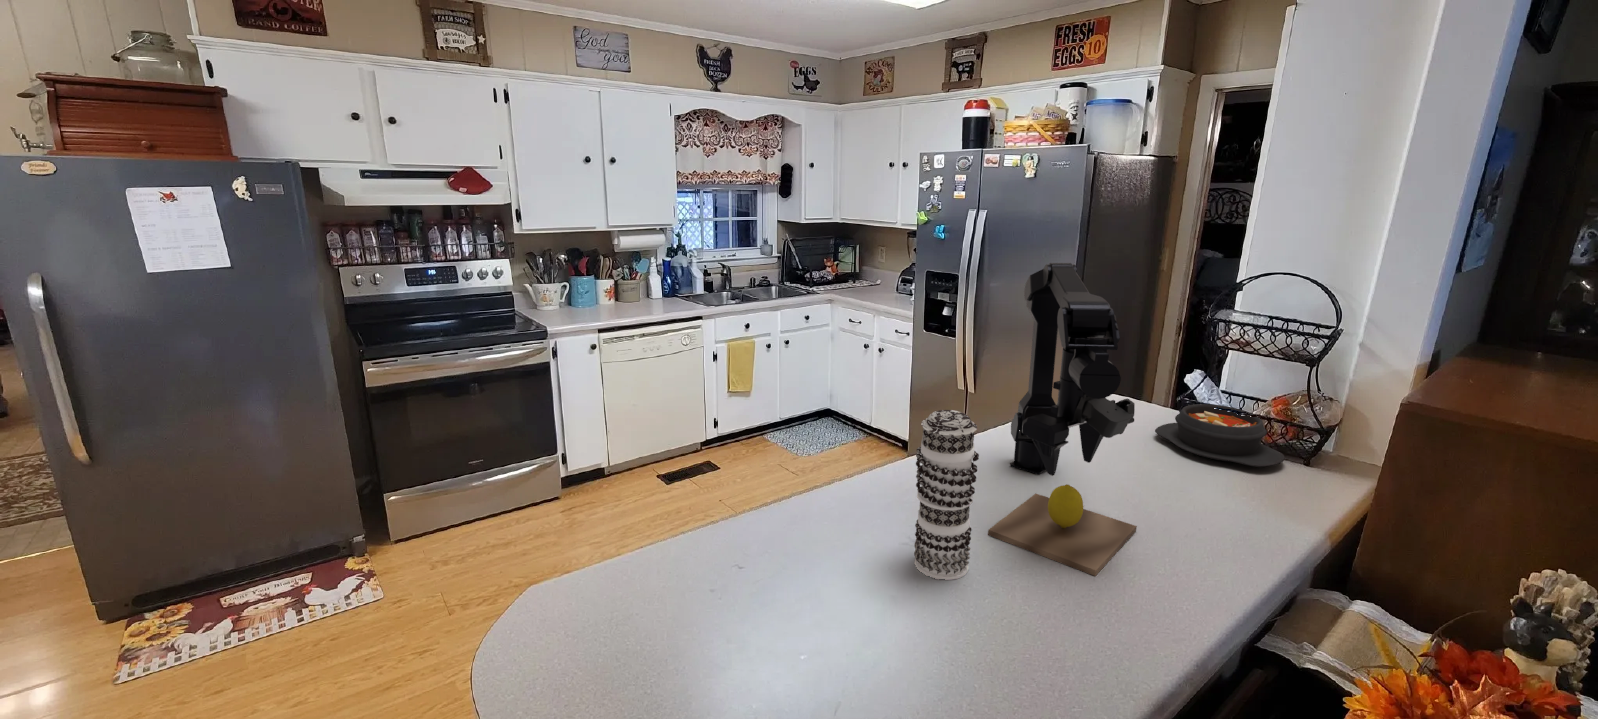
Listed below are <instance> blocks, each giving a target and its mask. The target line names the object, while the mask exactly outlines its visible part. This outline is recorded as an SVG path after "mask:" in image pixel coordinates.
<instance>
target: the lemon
mask: <svg viewBox="0 0 1598 719" xmlns="http://www.w3.org/2000/svg"><path fill="white" fill-rule="evenodd" d="M1048 498H1049V501H1048V512H1049V515H1050V517H1051V519H1052V520H1053V521H1054V522H1055V523H1056V524H1058V525H1060V526H1061V527H1062V528H1066V527H1070V526H1073V525H1075V524H1076V523H1078V521H1079V520H1080V518H1081V517H1082V514H1083V509H1084V502H1083V501H1084V500H1083V497H1082V494H1081V493H1080V491H1079V490H1077V489H1076V488H1075V487H1073V486H1071V485H1070V484H1064V485H1059V486H1057V487H1056V488H1054V489H1053V490H1052V492H1050V496H1049V497H1048Z"/></svg>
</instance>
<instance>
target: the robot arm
mask: <svg viewBox="0 0 1598 719" xmlns="http://www.w3.org/2000/svg"><path fill="white" fill-rule="evenodd" d="M1077 268H1078V267H1077V265H1076V264H1074V263H1073V264H1072V263H1071V262H1050V263H1046V264H1045V265H1044V267H1043V268H1042V269H1040V270H1038V271H1036V272H1034V273H1032V274H1030V275H1029V277H1028V278H1027V280H1026V283H1025V285H1024V291H1023V292H1024V301H1026V308H1027V310H1028V312H1029V313H1030V315H1031V318H1032V320H1033V327H1032V328H1033V329H1032V342H1031V354H1030V362H1029V363H1030V365H1029V375H1028V376H1029V378H1028V388H1027V391H1026V393H1025V394H1024V395H1023V396H1022V398H1021V399H1020V401H1018V408H1017V412H1015V414H1014V416H1013V417H1012V420H1011V422H1010V434H1011V437H1012V439H1013V441H1014V442H1015V444H1014V457H1013V461H1011V462H1010V463H1009V466H1010V467H1013V468H1016V469H1019V470H1023V471H1025V472H1029V473H1033V474H1035V475H1042V473H1044V472H1046V473H1047V475H1050V476H1052V477H1053V476H1055V474H1056V470H1057V467H1058V463H1059V457H1060V452H1061V448H1062V447H1064V446H1065V445H1067V444H1069V441H1068V440H1067V439H1068V437H1069V435H1070V428H1073V427H1077V426H1079V428H1078V429H1079V435H1080V436H1079V437H1080V445H1081V453H1082V457H1083V461H1084V462H1086V463H1089V464H1090V463H1091V462H1092V461H1093V458H1094V456H1095V454H1096V453H1097V450H1098V448H1099V446H1100V444H1101V442H1102V440H1103V439H1104V438H1107V439H1111V438H1113V437H1114V436H1118V435H1122V434H1124V432H1125V429H1127V426H1128V425H1129V424H1132V423H1134V422H1135V412H1136V411H1135V402H1133V401H1132V400H1131V399H1129V398H1123V399H1121V400H1119V401H1117V402H1116V400H1114V399H1112V400H1111V399H1110V400H1109V399H1107V398H1108V397H1110V396H1112V395H1113V394H1115V392H1116V391H1118V389H1119V387H1120V386H1121V379H1122V378H1121V375H1120V371H1119V369H1118V367H1117V366H1116V365H1115V364H1114V363H1113V362H1111V361H1110V360H1109V359H1110V357H1109V356H1110V354H1109V352H1108V351H1118V348H1119V345H1118V343H1119V341H1120V340H1121V338H1120V331H1119V326H1118V322H1117V316H1116V315H1115V311H1114V309H1113V308H1112V307H1111V305H1110V303H1109V302H1108V301H1107V300H1106V299H1105V298H1103V297H1102V296H1100V295H1095V294H1092V293H1090V292H1089V290H1088V289H1087V287H1086V285H1085V284H1084V282H1083V281H1082V279H1081V277H1080V276H1079V275H1078V269H1077ZM1058 335H1059V339H1060V343H1061V347H1062V353H1061V363H1060V373H1059V374H1060V375H1059V380H1057V381H1054V375H1055V364H1056V354H1057V353H1056V352H1057V344H1058V343H1057V342H1058V341H1057V340H1058ZM1105 337H1106V338H1105ZM1053 389H1055V390H1058V391H1057V392H1058V395H1057V404H1056V402H1055V400H1054V398H1053Z"/></svg>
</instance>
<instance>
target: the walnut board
mask: <svg viewBox="0 0 1598 719" xmlns="http://www.w3.org/2000/svg"><path fill="white" fill-rule="evenodd" d="M1049 498H1050V497H1049V496H1045V495H1042V494H1038V493H1035V494H1033V495H1032V496H1030V497H1029V498H1028V499H1027V500H1025V501H1024V502H1023V503H1021V504H1019V505H1018V506H1017V507H1016V508H1015V509H1014V510H1012V511H1010V513H1008V514H1007V515H1005V516H1004V517H1003V518H1002V519H1001V520H999V521H998V522H996V523H995V524H994V525H993V526H991V527H990V528H988V530H987V536H990V537H992V538H995V539H997V540H1000V541H1002V542H1005V543H1007V544H1010V545H1013V546H1015V547H1018V548H1020V549H1024V550H1026V551H1028V552H1031V553H1034V554H1036V555H1039V556H1041V557H1045V558H1047V559H1049V560H1053V561H1054V562H1058V563H1060V564H1062V565H1065V566H1067V567H1070V568H1073V569H1075V570H1078V571H1081V572H1083V573H1086V574H1089V575H1091V576H1094V577H1096V576H1097V575H1098V574H1099V573H1100V572H1101V571H1102V569H1103V568H1104V567H1105V566H1107V564H1108V563H1109V562H1110V561H1111V559H1113V558H1114V557H1115V555H1116V554H1117V553H1118V552H1119V551H1120V550H1121V549H1122V547H1123V546H1124V545H1125V544H1127V542H1128V541H1129V540H1130V539H1131V538H1132V537H1133V536H1134V534H1135V533H1136V532H1137V526H1138V525H1135V524H1132V523H1128V522H1126V521H1122V520H1120V519H1116V518H1113V517H1109V516H1106V515H1103V514H1101V513H1098V512H1095V511H1092V510H1088V509H1085V508H1083V514H1082V517H1081V518H1080V520H1079V521H1078V523H1076V524H1075V525H1073V526H1070V527H1066V528H1062V527H1061V526H1060V525H1058V524H1056V523H1055V522H1054V521H1053V520H1052V519H1051V517H1050V515H1049V512H1048V501H1049Z"/></svg>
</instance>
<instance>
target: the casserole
mask: <svg viewBox="0 0 1598 719" xmlns="http://www.w3.org/2000/svg"><path fill="white" fill-rule="evenodd" d="M1216 407H1218V408H1223V409H1231V410H1237V411H1241V412H1246V413H1248V414H1250V415H1253V414H1254V413H1253V412H1249V411H1246V410H1243V409H1240V408H1235V407H1232V406H1225V405H1220V404H1209V403H1208V404H1207V403H1199V404H1189V405H1186V406H1184V407H1182V409H1180V412H1178V414H1176V415H1175V416H1174V420H1175V422H1170V423H1165V424H1161V425H1159V426H1158V427H1156V428H1155V429H1154V432H1155V434H1156V435H1158V436H1159V437H1162V438H1163V439H1165V440H1168V441H1169V442H1171V443H1172V444H1174V445H1175V446H1176V447H1178V448H1180V449H1182V450H1184V451H1186V452H1189V453H1191V454H1193V455H1196V456H1199V457H1202V458H1204V459H1205V458H1206V459H1209V460H1210V459H1211V460H1214V461H1215V460H1216V461H1222V462H1233V463H1237V464H1241V465H1245V466H1248V467H1249V466H1250V467H1256V468H1263V467H1264V468H1265V467H1272V466H1276V465H1279V464H1281V463H1283V462H1284V461H1285V455H1284V454H1283V453H1282V452H1280V451H1278V450H1277V449H1274V448H1272V447H1270V446H1267V445H1265V444H1264V443H1262V442H1261V441H1262V439H1263V438H1264V437H1265V436H1267V433H1268V431H1267V429H1266V427H1264V422H1263V420H1262V418H1261V417H1259V416H1258V417H1259V418H1258V417H1250V416H1241V415H1237V414H1236V413H1233V412H1227V411H1226V410H1219V409H1214V408H1216ZM1260 418H1261V419H1260ZM1261 443H1262V444H1261Z"/></svg>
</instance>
